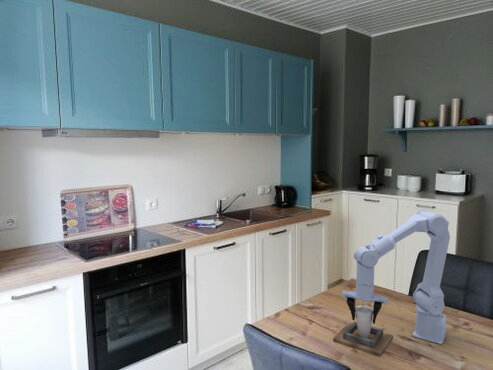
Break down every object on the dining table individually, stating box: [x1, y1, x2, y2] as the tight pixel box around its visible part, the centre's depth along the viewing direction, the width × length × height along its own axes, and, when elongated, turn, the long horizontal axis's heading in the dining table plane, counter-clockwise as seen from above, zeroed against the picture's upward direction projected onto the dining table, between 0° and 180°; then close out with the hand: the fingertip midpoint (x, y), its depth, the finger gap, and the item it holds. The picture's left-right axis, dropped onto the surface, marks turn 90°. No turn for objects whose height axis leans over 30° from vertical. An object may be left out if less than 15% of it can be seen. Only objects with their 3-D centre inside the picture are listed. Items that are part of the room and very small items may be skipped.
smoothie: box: [355, 300, 374, 338], centre depth 128 cm, size 6×6×14 cm
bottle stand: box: [332, 320, 394, 358], centre depth 128 cm, size 16×14×3 cm
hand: (363, 320), depth 128 cm, fingers closed on smoothie, 6 cm apart
